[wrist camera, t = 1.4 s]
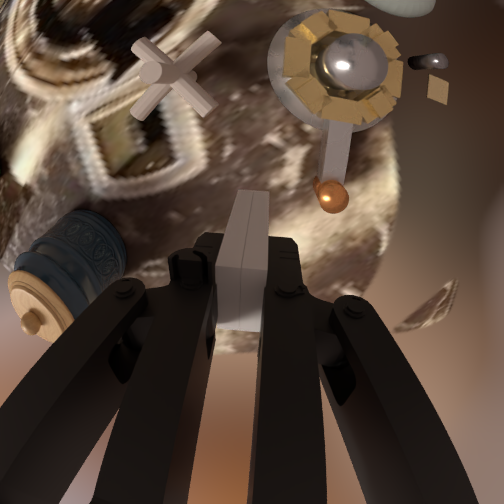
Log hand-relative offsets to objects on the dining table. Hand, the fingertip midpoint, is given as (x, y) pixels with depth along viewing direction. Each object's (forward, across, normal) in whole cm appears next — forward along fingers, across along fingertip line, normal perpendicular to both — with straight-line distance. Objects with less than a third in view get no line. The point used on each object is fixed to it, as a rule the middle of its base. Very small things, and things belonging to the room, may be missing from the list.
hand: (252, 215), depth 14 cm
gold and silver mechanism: (+16, +11, +10) cm, 22 cm away
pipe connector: (+17, -8, +8) cm, 20 cm away
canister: (+17, -24, -14) cm, 32 cm away
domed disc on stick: (+15, +7, +6) cm, 17 cm away
